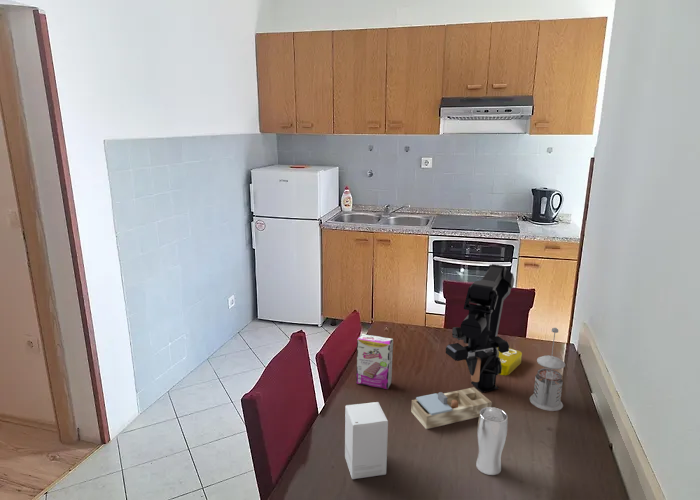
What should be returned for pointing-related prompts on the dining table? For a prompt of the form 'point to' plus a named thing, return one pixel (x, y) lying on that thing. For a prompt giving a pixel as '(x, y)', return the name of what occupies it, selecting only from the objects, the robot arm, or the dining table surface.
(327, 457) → the dining table surface
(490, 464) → the beer glass
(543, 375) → the french press
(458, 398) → the wooden compartment tray
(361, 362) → the candy bar box
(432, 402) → the lid
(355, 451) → the supplement box
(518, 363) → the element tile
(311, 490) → the dining table surface
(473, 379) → the peg
